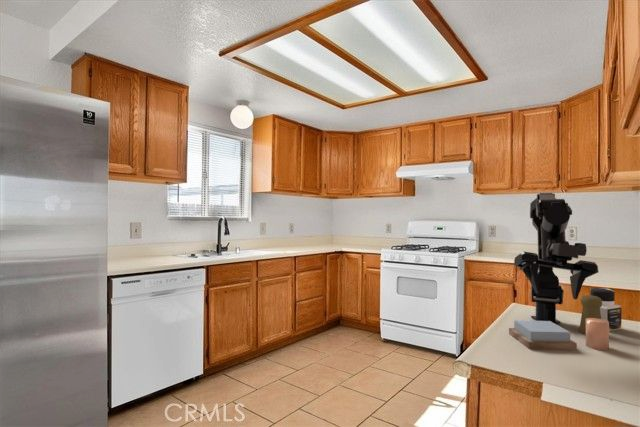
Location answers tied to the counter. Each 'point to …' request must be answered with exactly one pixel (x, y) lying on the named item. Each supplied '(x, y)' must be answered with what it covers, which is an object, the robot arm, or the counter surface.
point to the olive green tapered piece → (589, 310)
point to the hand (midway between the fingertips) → (556, 295)
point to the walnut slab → (542, 342)
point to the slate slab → (541, 331)
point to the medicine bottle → (608, 307)
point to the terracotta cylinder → (597, 333)
